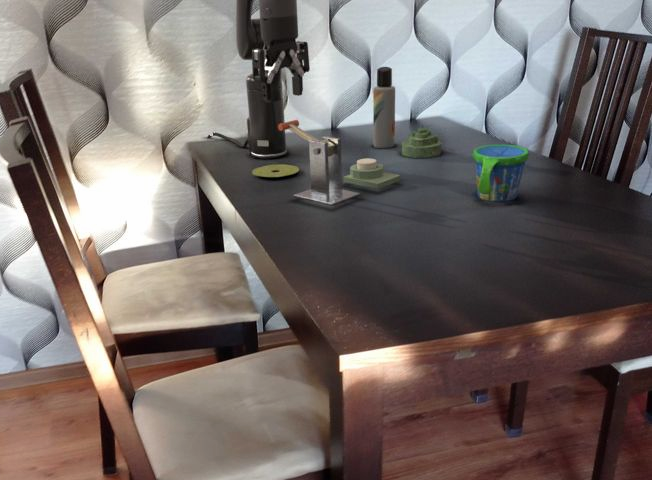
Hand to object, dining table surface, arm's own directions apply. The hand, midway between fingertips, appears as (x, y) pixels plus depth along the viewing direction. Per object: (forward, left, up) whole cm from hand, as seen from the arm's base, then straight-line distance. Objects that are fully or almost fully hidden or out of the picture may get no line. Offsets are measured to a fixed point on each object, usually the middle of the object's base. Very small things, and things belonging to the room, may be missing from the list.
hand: (283, 98), depth 148 cm
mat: (-10, +6, -20) cm, 23 cm away
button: (+11, +14, -16) cm, 24 cm away
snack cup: (+41, +20, -20) cm, 50 cm away
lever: (+6, 0, -8) cm, 10 cm away
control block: (+13, +14, -20) cm, 27 cm away
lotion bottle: (-8, +45, -20) cm, 50 cm away
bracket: (+12, 0, -20) cm, 23 cm away
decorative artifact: (+5, +44, -20) cm, 49 cm away
